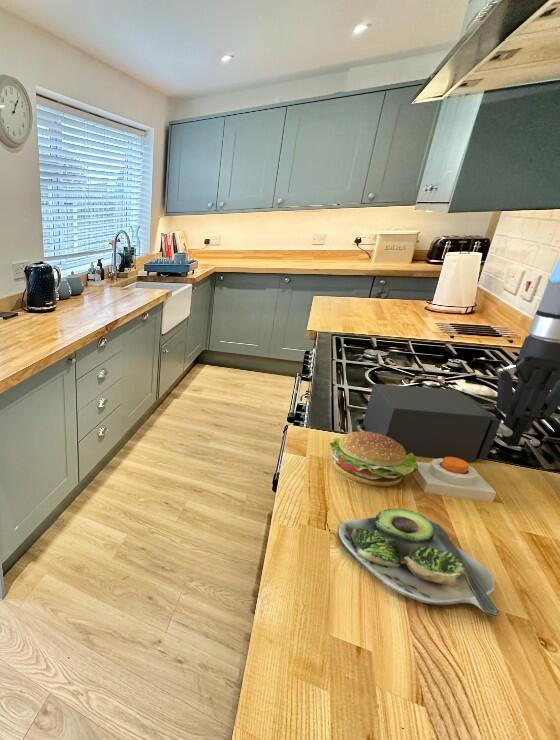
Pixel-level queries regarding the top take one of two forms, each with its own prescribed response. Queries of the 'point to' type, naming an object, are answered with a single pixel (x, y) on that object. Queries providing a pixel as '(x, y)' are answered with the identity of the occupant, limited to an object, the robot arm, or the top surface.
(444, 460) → the button
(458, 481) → the block
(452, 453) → the dark grey box
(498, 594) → the top surface
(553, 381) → the robot arm
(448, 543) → the salad plate
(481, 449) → the fryer drawer
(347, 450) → the food
